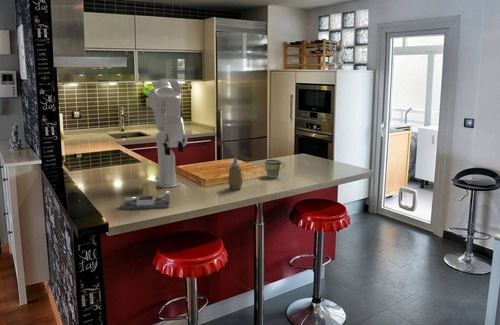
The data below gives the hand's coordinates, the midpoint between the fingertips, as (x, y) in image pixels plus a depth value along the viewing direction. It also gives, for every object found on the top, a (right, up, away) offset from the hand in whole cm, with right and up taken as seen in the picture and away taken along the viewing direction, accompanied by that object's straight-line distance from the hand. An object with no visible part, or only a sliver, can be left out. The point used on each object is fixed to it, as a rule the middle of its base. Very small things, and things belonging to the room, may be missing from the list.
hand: (174, 153), depth 224 cm
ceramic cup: (+55, -14, +51) cm, 76 cm away
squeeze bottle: (+31, -20, +22) cm, 43 cm away
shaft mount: (-12, -26, -10) cm, 30 cm away
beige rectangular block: (-14, -23, +6) cm, 27 cm away
